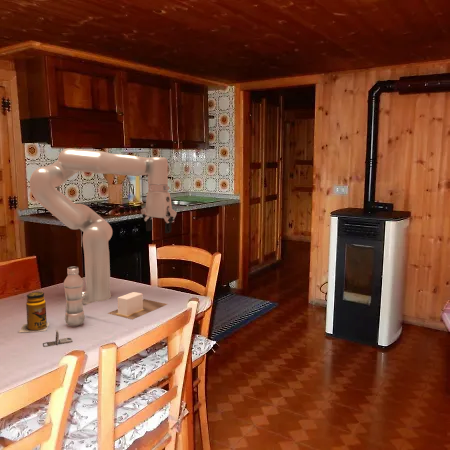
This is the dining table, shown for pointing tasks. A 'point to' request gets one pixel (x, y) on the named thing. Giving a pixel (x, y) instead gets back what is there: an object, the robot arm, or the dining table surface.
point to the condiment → (35, 313)
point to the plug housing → (130, 303)
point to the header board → (147, 308)
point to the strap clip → (61, 341)
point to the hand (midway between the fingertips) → (158, 231)
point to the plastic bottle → (74, 297)
